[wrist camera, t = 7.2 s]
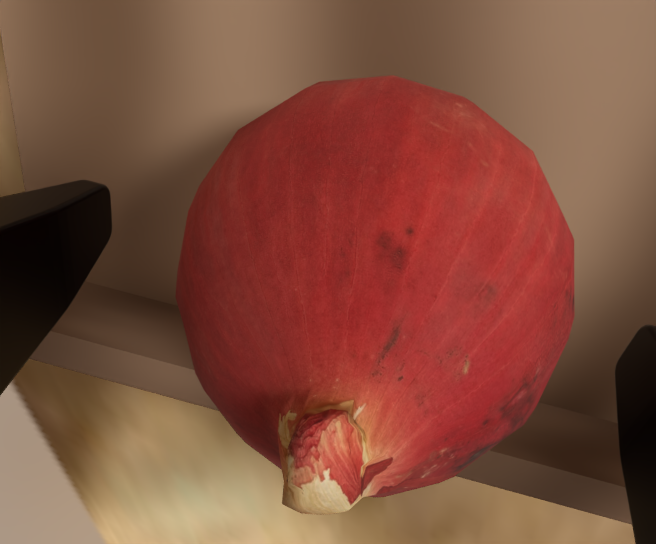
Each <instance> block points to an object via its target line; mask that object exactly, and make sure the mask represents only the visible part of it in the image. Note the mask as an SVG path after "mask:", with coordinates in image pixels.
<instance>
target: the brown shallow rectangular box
mask: <svg viewBox="0 0 656 544" xmlns="http://www.w3.org/2000/svg"><path fill="white" fill-rule="evenodd" d="M0 32H1V38H2V45H3V51H4V57H5V64H6V70H7V77H8V83H9V90H10V96H11V103H12V109H13V116H14V122H15V129H16V135H17V141H18V148H19V154H20V161H21V167H22V174H23V180H24V187H25V192H27V191H31V190H36V189H41V188H45V187H50V186H54V185H59V184H64V183H68V182H73V181H77V180H89V181H93V182H97V183H101V184H104V185H106V186H107V187H108V188H109V191H110V195H111V211H112V233H111V237H110V240H109V241H108V243H107V245H106V247H105V248H104V250H103V252H102V253H101V255H100V257H99V258H98V260H97V262H96V263H95V265H94V267H93V268H92V270H91V272H90V273H89V275H88V277H87V278H86V280H85V282H84V283H83V285H82V287H81V288H80V290H79V292H78V293H77V295H76V297H75V298H74V300H73V301H72V303H71V304H70V306H69V307H68V309H67V310H66V311H65V313H64V314H63V315H62V317H61V318H60V319H59V321H58V322H57V323H56V325H55V326H54V327H53V328H52V330H51V331H50V332H49V334H48V335H47V336H46V337H45V339H44V340H43V341H42V343H41V344H40V345H39V346H38V348H37V349H36V350H35V352H34V353H33V354H32V355H31V357H30V358H29V359H33V360H36V361H40V362H44V363H47V364H51V365H55V366H58V367H62V368H65V369H69V370H73V371H76V372H80V373H84V374H87V375H91V376H94V377H98V378H102V379H105V380H109V381H113V382H116V383H120V384H124V385H127V386H131V387H134V388H138V389H142V390H145V391H149V392H153V393H156V394H160V395H163V396H167V397H171V398H174V399H178V400H182V401H185V402H189V403H193V404H196V405H200V406H203V407H207V408H211V409H214V410H218V411H219V409H218V408H217V407H216V405H215V404H214V403H213V402H212V400H211V399H210V398H209V396H208V395H207V394H206V392H205V391H204V389H203V387H202V385H201V383H200V381H199V379H198V377H197V375H196V373H195V370H194V366H193V362H192V358H191V353H190V349H189V345H188V341H187V337H186V333H185V329H184V325H183V321H182V318H181V314H180V311H179V307H178V304H177V301H176V297H175V294H176V282H177V271H178V265H179V260H180V254H181V249H182V243H183V237H184V232H185V226H186V220H187V215H188V211H189V208H190V206H191V204H192V201H193V199H194V197H195V194H196V192H197V190H198V187H199V185H200V184H201V182H202V181H203V179H204V178H205V177H206V175H207V174H208V172H209V171H210V169H211V168H212V167H213V165H214V164H215V162H216V161H217V159H218V158H219V156H220V155H221V154H222V152H223V151H224V149H225V148H226V146H227V145H228V143H229V142H230V141H231V139H232V138H233V136H234V135H235V133H236V132H237V131H238V130H239V129H240V128H242V127H243V126H245V125H247V124H248V123H250V122H251V121H253V120H255V119H256V118H258V117H260V116H261V115H263V114H264V113H266V112H268V111H269V110H271V109H273V108H274V107H276V106H277V105H279V104H281V103H282V102H284V101H285V100H287V99H289V98H290V97H292V96H294V95H295V94H297V93H298V92H300V91H302V90H303V89H305V88H307V87H309V86H311V85H313V84H316V83H318V82H322V81H333V80H344V79H356V78H367V77H378V76H389V75H394V76H398V77H401V78H404V79H407V80H411V81H414V82H417V83H421V84H424V85H427V86H430V87H434V88H437V89H440V90H443V91H447V92H450V93H453V94H456V95H460V96H463V97H465V98H466V99H468V100H470V101H471V102H473V103H474V104H476V105H477V106H478V107H479V108H480V109H482V110H483V111H484V112H485V113H487V114H488V115H489V116H490V117H492V118H493V119H494V120H495V121H496V122H498V123H499V124H500V125H501V126H503V127H504V128H505V129H506V130H508V131H509V132H510V133H511V134H513V135H514V136H515V137H516V138H517V139H519V140H520V141H521V142H522V143H524V144H525V145H526V146H527V147H529V148H530V149H531V150H532V151H533V152H534V154H535V156H536V158H537V160H538V162H539V165H540V167H541V169H542V171H543V173H544V175H545V177H546V179H547V181H548V183H549V186H550V188H551V190H552V192H553V194H554V196H555V198H556V200H557V202H558V205H559V207H560V209H561V211H562V213H563V215H564V217H565V220H566V222H567V224H568V226H569V229H570V231H571V233H572V236H573V238H574V310H575V316H574V320H573V324H572V328H571V331H570V335H569V339H568V341H567V343H566V345H565V347H564V349H563V352H562V354H561V356H560V358H559V360H558V362H557V364H556V366H555V368H554V370H553V372H552V375H551V377H550V379H549V381H548V383H547V385H546V387H545V389H544V391H543V393H542V395H541V397H540V400H539V402H538V404H537V406H536V408H535V409H534V411H533V412H532V414H531V415H530V417H529V418H528V420H527V421H526V423H525V424H524V425H523V426H522V427H520V428H519V429H517V430H516V431H515V432H513V433H512V434H510V435H509V436H507V437H506V438H505V439H503V440H502V441H501V442H499V443H498V444H497V445H495V446H494V447H493V448H491V449H490V450H489V451H487V452H486V453H485V454H483V455H482V456H481V457H479V458H478V459H477V460H475V461H474V462H473V463H471V464H470V465H469V466H467V467H466V468H465V469H463V470H462V471H461V472H459V473H458V474H457V475H455V476H458V477H461V478H465V479H469V480H472V481H476V482H480V483H483V484H487V485H490V486H494V487H498V488H501V489H505V490H509V491H512V492H516V493H519V494H523V495H527V496H530V497H534V498H538V499H541V500H545V501H549V502H552V503H556V504H559V505H563V506H567V507H570V508H574V509H578V510H581V511H585V512H589V513H592V514H596V515H599V516H603V517H607V518H610V519H614V520H618V521H621V522H625V523H628V524H632V521H631V515H630V510H629V504H628V499H627V494H626V488H625V483H624V477H623V472H622V466H621V459H620V451H619V440H618V423H617V406H616V389H615V367H616V364H617V361H618V359H619V358H620V356H621V355H622V353H623V352H624V350H625V349H626V347H627V346H628V344H629V343H630V341H631V340H632V338H633V337H634V335H635V334H636V332H637V331H638V330H639V329H640V328H641V327H642V326H644V325H647V324H649V325H654V326H656V0H0Z"/></svg>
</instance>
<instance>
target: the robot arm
mask: <svg viewBox="0 0 656 544" xmlns="http://www.w3.org/2000/svg"><path fill="white" fill-rule="evenodd" d="M111 233H112V211H111V195H110V191H109V188H108V187H107V186H106V185H104V184H101V183H97V182H93V181H89V180H77V181H73V182H68V183H64V184H59V185H54V186H50V187H45V188H41V189H36V190H31V191H27V192H22V193H18V194H13V195H8V196H4V197H0V395H1V394H2V393H3V391H4V390H5V389H6V388H7V386H8V385H9V384H10V382H11V381H12V380H13V379H14V377H15V376H16V375H17V373H18V372H19V371H20V370H21V368H22V367H23V366H24V364H25V363H26V362H27V361H28V359H29V358H30V357H31V355H32V354H33V353H34V352H35V350H36V349H37V348H38V346H39V345H40V344H41V343H42V341H43V340H44V339H45V337H46V336H47V335H48V334H49V332H50V331H51V330H52V328H53V327H54V326H55V325H56V323H57V322H58V321H59V319H60V318H61V317H62V315H63V314H64V313H65V311H66V310H67V309H68V307H69V306H70V304H71V303H72V301H73V300H74V298H75V297H76V295H77V293H78V292H79V290H80V288H81V287H82V285H83V283H84V282H85V280H86V278H87V277H88V275H89V273H90V272H91V270H92V268H93V267H94V265H95V263H96V262H97V260H98V258H99V257H100V255H101V253H102V252H103V250H104V248H105V247H106V245H107V243H108V241H109V240H110V237H111ZM615 389H616V406H617V423H618V440H619V451H620V459H621V466H622V472H623V477H624V483H625V488H626V494H627V499H628V504H629V510H630V515H631V521H632V526H633V532H634V537H635V543H636V544H656V326H654V325H649V324H647V325H644V326H642V327H641V328H640V329H639V330H638V331H637V332H636V334H635V335H634V337H633V338H632V340H631V341H630V343H629V344H628V346H627V347H626V349H625V350H624V352H623V353H622V355H621V356H620V358H619V359H618V361H617V364H616V367H615Z"/></svg>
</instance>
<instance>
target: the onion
mask: <svg viewBox="0 0 656 544" xmlns="http://www.w3.org/2000/svg"><path fill="white" fill-rule="evenodd" d="M175 297H176V301H177V304H178V307H179V311H180V314H181V318H182V321H183V325H184V329H185V333H186V337H187V341H188V345H189V349H190V353H191V358H192V362H193V366H194V370H195V373H196V375H197V377H198V379H199V381H200V383H201V385H202V387H203V389H204V391H205V392H206V394H207V395H208V396H209V398H210V399H211V400H212V402H213V403H214V404H215V405H216V407H217V408H218V409H219V411H220V412H221V413H222V415H223V416H224V417H225V419H226V420H227V421H228V422H229V424H230V425H231V426H232V428H233V429H234V430H235V432H236V433H237V434H238V435H239V436H240V437H241V438H242V439H243V440H244V441H245V442H246V443H247V444H248V445H249V446H251V447H252V448H253V449H255V450H256V451H257V452H259V453H260V454H261V455H263V456H264V457H265V458H267V459H268V460H269V461H271V462H272V463H274V464H275V465H276V466H278V467H279V468H280V469H282V472H283V479H284V488H283V500H282V504H283V505H285V506H287V507H289V508H292V509H294V510H296V511H298V512H300V513H305V514H320V515H322V514H333V513H340V512H344V511H348V510H349V509H351V508H352V507H353V506H354V505H355V504H356V503H357V502H358V501H359V500H360V499H361V498H362V497H366V496H369V497H385V496H389V495H393V494H397V493H401V492H405V491H409V490H413V489H417V488H421V487H425V486H429V485H432V484H436V483H440V482H442V481H445V480H447V479H449V478H452V477H454V476H455V475H457V474H458V473H459V472H461V471H462V470H463V469H465V468H466V467H467V466H469V465H470V464H471V463H473V462H474V461H475V460H477V459H478V458H479V457H481V456H482V455H483V454H485V453H486V452H487V451H489V450H490V449H491V448H493V447H494V446H495V445H497V444H498V443H499V442H501V441H502V440H503V439H505V438H506V437H507V436H509V435H510V434H512V433H513V432H515V431H516V430H517V429H519V428H520V427H522V426H523V425H524V424H525V423H526V421H527V420H528V418H529V417H530V415H531V414H532V412H533V411H534V409H535V408H536V406H537V404H538V402H539V400H540V397H541V395H542V393H543V391H544V389H545V387H546V385H547V383H548V381H549V379H550V377H551V375H552V372H553V370H554V368H555V366H556V364H557V362H558V360H559V358H560V356H561V354H562V352H563V349H564V347H565V345H566V343H567V341H568V339H569V335H570V331H571V328H572V324H573V320H574V316H575V310H574V238H573V236H572V233H571V231H570V229H569V226H568V224H567V222H566V220H565V217H564V215H563V213H562V211H561V209H560V207H559V205H558V202H557V200H556V198H555V196H554V194H553V192H552V190H551V188H550V186H549V183H548V181H547V179H546V177H545V175H544V173H543V171H542V169H541V167H540V165H539V162H538V160H537V158H536V156H535V154H534V152H533V151H532V150H531V149H530V148H529V147H527V146H526V145H525V144H524V143H522V142H521V141H520V140H519V139H517V138H516V137H515V136H514V135H513V134H511V133H510V132H509V131H508V130H506V129H505V128H504V127H503V126H501V125H500V124H499V123H498V122H496V121H495V120H494V119H493V118H492V117H490V116H489V115H488V114H487V113H485V112H484V111H483V110H482V109H480V108H479V107H478V106H477V105H476V104H474V103H473V102H471V101H470V100H468V99H466V98H465V97H463V96H460V95H456V94H453V93H450V92H447V91H443V90H440V89H437V88H434V87H430V86H427V85H424V84H421V83H417V82H414V81H411V80H407V79H404V78H401V77H398V76H394V75H389V76H378V77H367V78H356V79H344V80H333V81H322V82H318V83H316V84H313V85H311V86H309V87H307V88H305V89H303V90H302V91H300V92H298V93H297V94H295V95H294V96H292V97H290V98H289V99H287V100H285V101H284V102H282V103H281V104H279V105H277V106H276V107H274V108H273V109H271V110H269V111H268V112H266V113H264V114H263V115H261V116H260V117H258V118H256V119H255V120H253V121H251V122H250V123H248V124H247V125H245V126H243V127H242V128H240V129H239V130H238V131H237V132H236V133H235V135H234V136H233V138H232V139H231V141H230V142H229V143H228V145H227V146H226V148H225V149H224V151H223V152H222V154H221V155H220V156H219V158H218V159H217V161H216V162H215V164H214V165H213V167H212V168H211V169H210V171H209V172H208V174H207V175H206V177H205V178H204V179H203V181H202V182H201V184H200V185H199V187H198V190H197V192H196V194H195V197H194V199H193V201H192V204H191V206H190V208H189V211H188V215H187V220H186V226H185V232H184V237H183V243H182V249H181V254H180V260H179V265H178V271H177V282H176V294H175Z"/></svg>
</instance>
